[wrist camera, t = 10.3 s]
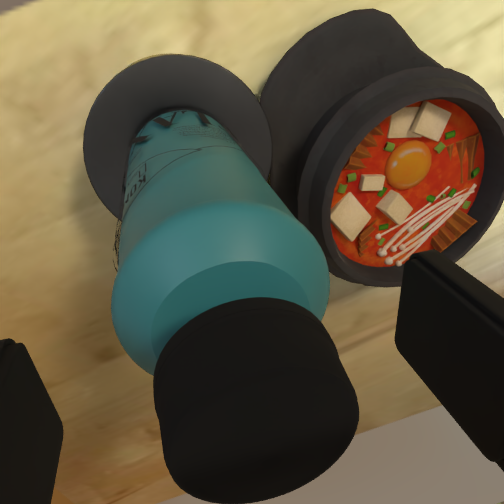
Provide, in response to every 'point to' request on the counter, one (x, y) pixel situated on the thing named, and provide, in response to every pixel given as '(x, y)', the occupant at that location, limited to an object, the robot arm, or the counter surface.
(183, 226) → the beverage bottle
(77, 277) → the counter surface
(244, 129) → the gold round tin
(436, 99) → the casserole
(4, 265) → the counter surface
